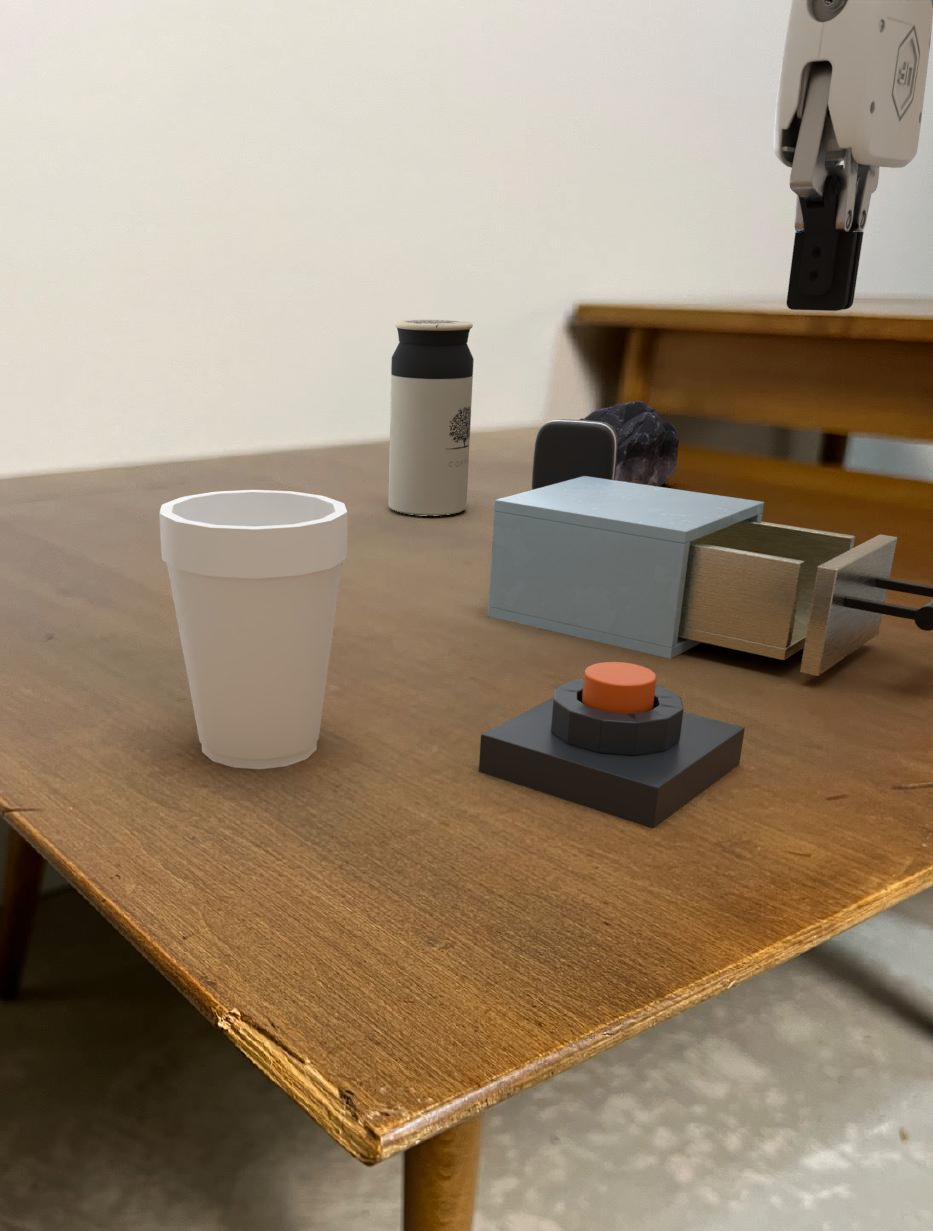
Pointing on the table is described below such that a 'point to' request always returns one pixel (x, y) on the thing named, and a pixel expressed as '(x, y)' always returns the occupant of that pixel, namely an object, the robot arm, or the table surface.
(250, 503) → the foam cup
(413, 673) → the table surface
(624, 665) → the button
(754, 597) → the metal drawer
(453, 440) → the travel mug
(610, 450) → the battery charger
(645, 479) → the crystal cluster
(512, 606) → the light blue drawer box
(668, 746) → the control block
